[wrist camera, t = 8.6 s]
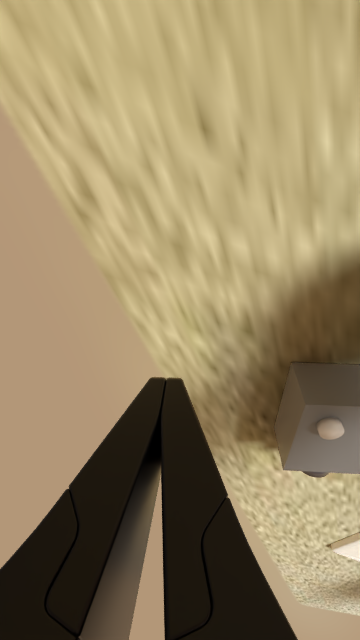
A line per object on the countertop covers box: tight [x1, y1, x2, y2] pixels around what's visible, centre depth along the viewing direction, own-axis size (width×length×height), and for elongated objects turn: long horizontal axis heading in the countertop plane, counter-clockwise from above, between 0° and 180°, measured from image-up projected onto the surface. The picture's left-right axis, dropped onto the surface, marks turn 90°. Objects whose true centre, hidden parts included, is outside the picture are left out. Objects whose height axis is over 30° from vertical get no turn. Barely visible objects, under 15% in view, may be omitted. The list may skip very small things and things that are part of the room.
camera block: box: [274, 362, 360, 477], centre depth 24 cm, size 10×9×5 cm
